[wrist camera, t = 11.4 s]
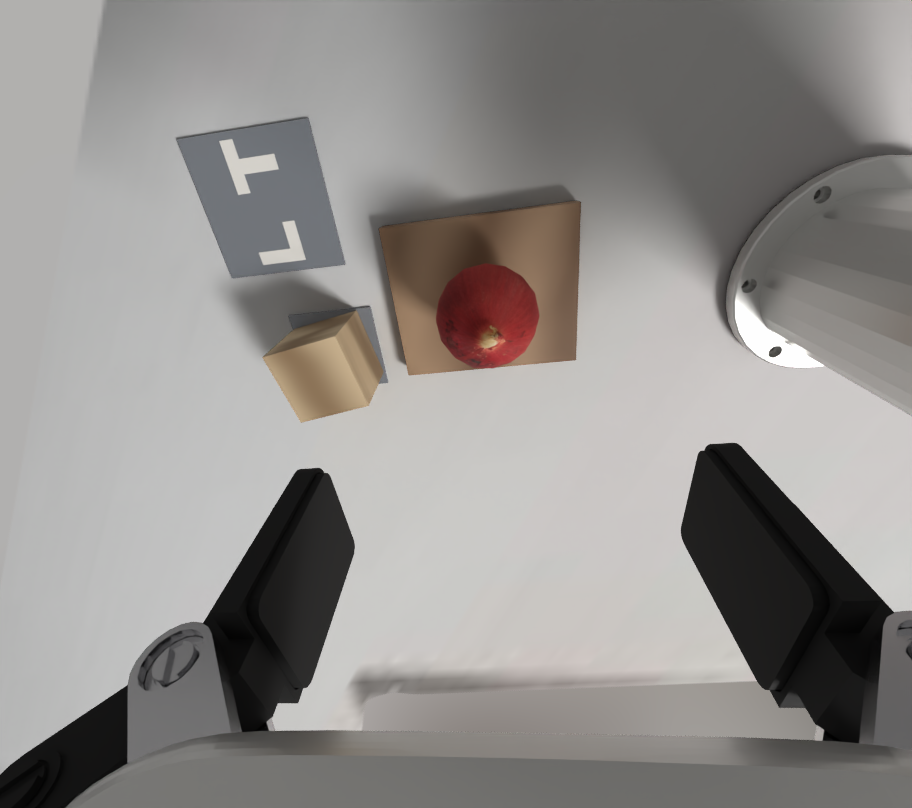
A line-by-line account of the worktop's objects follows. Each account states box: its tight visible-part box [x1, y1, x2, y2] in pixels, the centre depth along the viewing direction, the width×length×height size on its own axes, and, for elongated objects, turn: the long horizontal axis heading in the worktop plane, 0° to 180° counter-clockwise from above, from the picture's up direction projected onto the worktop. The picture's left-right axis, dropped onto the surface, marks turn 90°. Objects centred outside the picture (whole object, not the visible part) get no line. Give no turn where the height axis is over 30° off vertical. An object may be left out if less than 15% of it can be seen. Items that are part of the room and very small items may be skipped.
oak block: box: [262, 310, 384, 423], centre depth 28 cm, size 5×5×5 cm
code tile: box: [177, 118, 345, 278], centre depth 25 cm, size 8×8×1 cm
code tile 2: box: [289, 307, 388, 384], centre depth 30 cm, size 6×6×1 cm
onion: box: [436, 263, 539, 368], centre depth 23 cm, size 6×6×8 cm
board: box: [379, 201, 581, 375], centre depth 27 cm, size 12×10×1 cm
